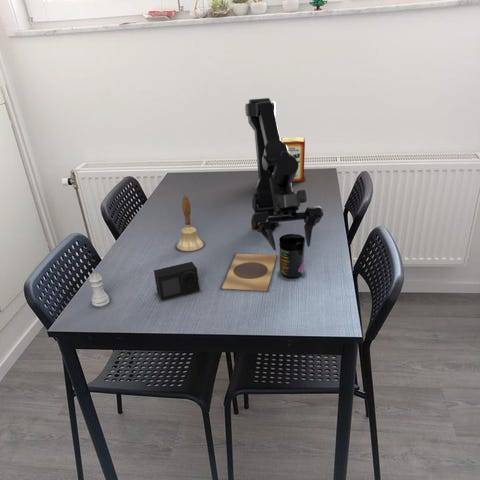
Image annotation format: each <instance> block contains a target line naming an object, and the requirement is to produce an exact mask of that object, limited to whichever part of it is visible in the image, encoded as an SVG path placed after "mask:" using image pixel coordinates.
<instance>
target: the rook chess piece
mask: <svg viewBox="0 0 480 480" xmlns="http://www.w3.org/2000/svg"><path fill="white" fill-rule="evenodd" d="M102 281H103V276H101V275H100V273H98V272H96V273H95V272H94V273H92V274H90V275H89V278H88V282H90V283H91V284H90V287H92V296H91V304H92V305H93V306H94V307H96V308H103V307H105V306H108V305H109V303H110V301H111V300H110V298H109V294H107V292H105V290H104V287H103V282H102Z"/></svg>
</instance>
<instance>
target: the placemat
mask: <svg viewBox="0 0 480 480" xmlns="http://www.w3.org/2000/svg"><path fill="white" fill-rule="evenodd" d="M276 260H277V255H276V254H257V253H256V254H253V253H252V254H251V253H236V254H235V256H234V258H233V260H232V263H231V266H230V267H229V270H228V273H227V274H226V277H225V278H224V281H223V283H222V286H221V289H223V290H242V291H257V292H258V291H259V292H268V289H269V287H270V282H271V278H272V274H273V271H274V266H275V264H276V263H275V262H276Z"/></svg>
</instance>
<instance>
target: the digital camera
mask: <svg viewBox="0 0 480 480" xmlns="http://www.w3.org/2000/svg"><path fill="white" fill-rule="evenodd" d="M153 274H154V275H153V276H154V281H155V286H156V291H157V295H158V296H159V299H160V300H161V301H166V300H170V299H174V298H178V297H181V296H187V295H191V294H193V293H198V292H200V285H199V283H200V282H199V275H198V274H199V273H198V267H197V266H196V264H195V263H194V262H193V261H188V262H184V263H179V264H175V265H171V266H166V267H162V268H158V269H153Z"/></svg>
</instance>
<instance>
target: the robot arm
mask: <svg viewBox="0 0 480 480" xmlns="http://www.w3.org/2000/svg"><path fill="white" fill-rule="evenodd" d="M244 111H245V116H246V117H247V120H248V125H249V126H250V128H251V129H252V130H253V131H254V142H255V143H254V144H255V154H256V164H257V174H258V175H257V176H258V180H257V182H256V185H255V187H254V193H253V195H252V200H251V207H252V210H253V211H254V212H253V214H252V216H251V220H250V225H251V230H253V231H256V232H257V233H261V235H262V236H263V237H264V238H265V239H266V240H267V242H268V244H269V246H270V247H271V248H272V250H273V251H276V250H277V248H276V247H277V246H276V241H275V238H274V234H273V231H274V230H275V229H276V228H277V227H278V226H279V225H280V223H283V222H284V223H285V222H293V221H303V222H304V225H303V229H304V235H305V236H304V238H305V244H306V246H307V247H308V248H309V247H310V246H311V242H312V241H311V240H312V233H313V228H314V227H315V226H316V225H317V224H319V223H320V221H321V219H322V218H323V216H324V211H323V208H322V207H321V206H320V205H315V206H307V207H306V208H305V211H302V212H297V211H299V209H300V207H301V204H304V203H307V201H308V200H307V199H308V198H307V192H306V189H299V190H296V193H295V192H294V190H293V185H292V183H294V181H293V180H294V177H295V175H296V172H297V170H298V161H297V160H296V159H295V158H294V157H293V156H291V154H289V152H288V149H287V146H286V145H285V144H284V143H283V142H282V141H281V135H280V131H279V128H278V127H279V126H278V123H277V118H276V115H277V113H276V111H277V109H276V101H272V100H271V99H270V98H269V97H264V98H250V99H248V103H245V107H244Z"/></svg>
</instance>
